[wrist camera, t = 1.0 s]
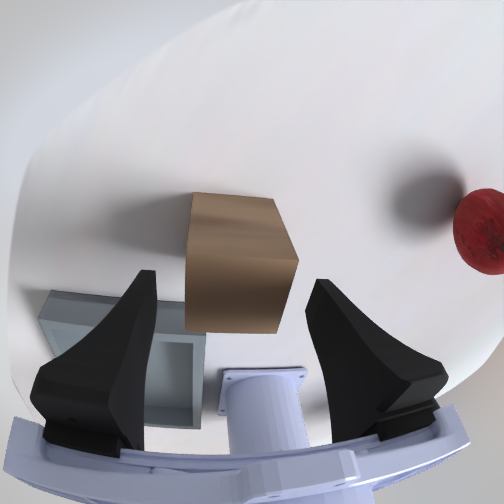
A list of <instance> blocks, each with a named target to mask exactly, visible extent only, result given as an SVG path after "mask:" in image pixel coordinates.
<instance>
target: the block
mask: <svg viewBox="0 0 504 504" xmlns="http://www.w3.org/2000/svg"><path fill="white" fill-rule="evenodd" d="M298 262H299V259H298V257H297V254H296V252H295V249H294V247H293V244H292V242H291V240H290V237H289V235H288V233H287V230H286V228H285V226H284V223H283V221H282V218H281V216H280V214H279V211H278V209H277V207H276V205H275V202H274V200H273V199H267V198H257V197H247V196H236V195H224V194H212V193H198V192H194V193H193V201H192V208H191V216H190V224H189V232H188V240H187V249H186V269H185V331H189V332H211V333H250V334H276V333H277V330H278V327H279V324H280V321H281V318H282V315H283V311H284V308H285V305H286V302H287V299H288V295H289V292H290V289H291V286H292V282H293V279H294V276H295V272H296V269H297V265H298Z"/></svg>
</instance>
